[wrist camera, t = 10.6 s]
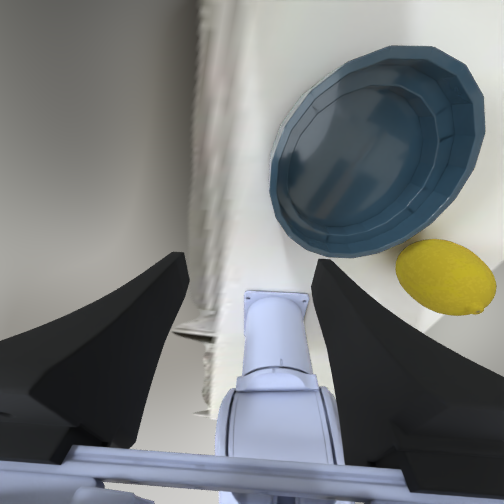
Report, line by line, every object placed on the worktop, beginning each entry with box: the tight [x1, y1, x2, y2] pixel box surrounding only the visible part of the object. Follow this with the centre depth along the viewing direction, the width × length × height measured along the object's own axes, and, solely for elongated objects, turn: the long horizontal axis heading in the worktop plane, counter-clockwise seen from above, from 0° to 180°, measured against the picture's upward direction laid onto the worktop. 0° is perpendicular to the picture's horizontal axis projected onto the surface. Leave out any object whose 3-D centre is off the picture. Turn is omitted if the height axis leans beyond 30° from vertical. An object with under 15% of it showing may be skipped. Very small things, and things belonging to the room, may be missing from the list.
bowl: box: [268, 45, 485, 258], centre depth 15 cm, size 13×13×4 cm
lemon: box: [396, 239, 496, 316], centre depth 17 cm, size 6×6×8 cm
